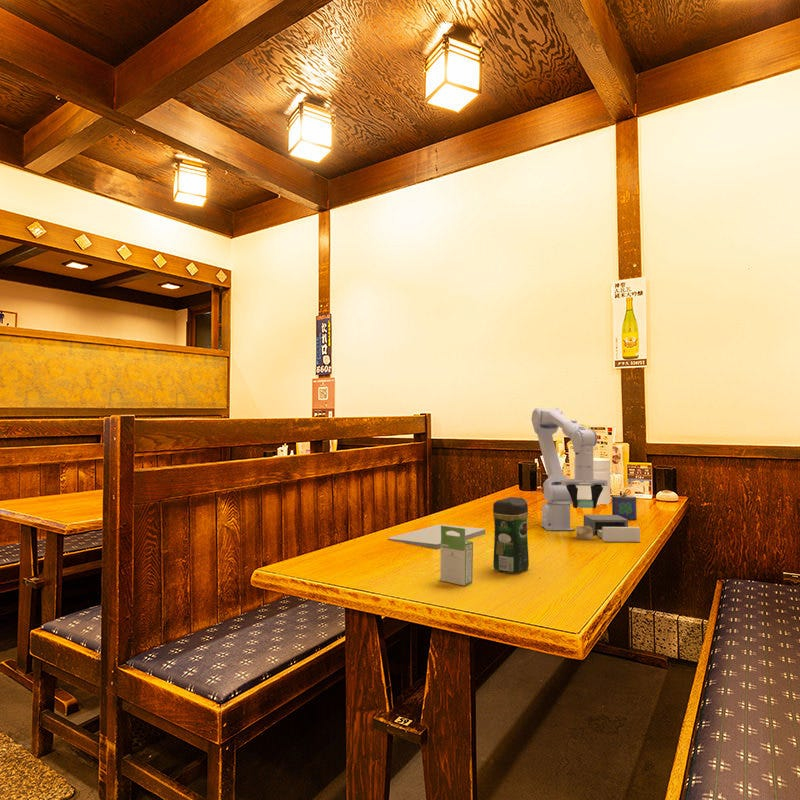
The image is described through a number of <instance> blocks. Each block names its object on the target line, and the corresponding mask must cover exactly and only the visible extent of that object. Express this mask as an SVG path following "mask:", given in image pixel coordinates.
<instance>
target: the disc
mask: <svg viewBox="0 0 800 800" xmlns="http://www.w3.org/2000/svg"><path fill="white" fill-rule="evenodd" d="M592 507H593V500H590V499H577V508H581V509H582V508H584V509H590V508H592ZM592 509H593V508H592Z"/></svg>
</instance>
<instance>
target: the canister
mask: <svg viewBox="0 0 800 800" xmlns="http://www.w3.org/2000/svg"><path fill="white" fill-rule="evenodd" d="M573 466H574V469H573V474H574V475H573V477H574V478H573V479H575V457H574V459H573ZM593 477H594V479H602V480H608V486H602V487H603V490H602V492H601V494H600V496H599V498H598V501H597V505H596V506H598V505H599V506H601V505H600V504H606V505H610V504H612V496H611V459H610V458H604V457H603V458H600V457H593ZM579 484H591V483H579ZM576 488H578V492H577V499H590V500H592V494H591V486H576ZM609 503H610V504H609Z"/></svg>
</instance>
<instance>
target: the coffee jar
mask: <svg viewBox="0 0 800 800" xmlns="http://www.w3.org/2000/svg"><path fill="white" fill-rule="evenodd" d="M492 505H493V506H492V508H493V509H492V515H493V521H494V535H493V536H494V537H493V538H494V540H493V569H494V570H495V571H497V572H499V573H503V574H519V573H522V572H524V571H525V570H527V569H528V568H529V565H530V564H529V563H530V559H529V543H528V541H529V539H528V517H529V507H528V506H529V505H528V502H527V500H525V499H524V498H522V497H517V496H515V497H514V496H510V497H505V498H503V499H499V500H496V501H495V502H493V504H492Z"/></svg>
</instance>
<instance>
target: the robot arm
mask: <svg viewBox="0 0 800 800" xmlns="http://www.w3.org/2000/svg"><path fill="white" fill-rule="evenodd" d="M531 413H532V414H531V422H532V423H531V424H532V427H533V431H534V433H535V434H536V435H537V438H538V442H539V447H540V450H541V453H542V454H541V456H542V458H543V462H544V466H545V470H546V474H547V479H545V480H544V482H543V484H542V486H543V487H542V488H543V497H544V499H545V501H546V502H547V503H546V502H545V503H543V504H542V507H541V527H543V528H544V530H546V531H575V528H573V527H572V526H571V505H572V507H573V508H574V509H577V508H578V507H577V492H578V488H576V486H591V494H592V500H593V507H592V509H597V506H598V505H597V501H598V498H599V496H600V494H601V492H602V490H603V487H602V486H608V480H602V479H594V477H593V458H594V447H595V446H596V445H597V443H598V436H597V433H596V431H595V430H594V429H592V428H589V429H586V428H585V426H583V425H581V424H580V423H578V420H576V419H568V418H567V417H566V416H565V415H563V410H561V409H560V408H559V407H558V408H538V407H537V408H534V409H533V411H532V412H531ZM559 428H561V429H562V433H563V434H564V435H565V436H566V437H567V438H569V439H570V441H571V444H572V447H573V448H572V449H573V452H574V458H575V479H574V478H568V477H567V476H566V475H564V473H563V470H562V466H561V463H560V460H559V459H560V458H559V456H558V453H557V452H558V451H557V448H556V445H555V441H554V437H553V435H554V434H555V433H556V434H557V432H558V430H559ZM579 483H591V484H579Z"/></svg>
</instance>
